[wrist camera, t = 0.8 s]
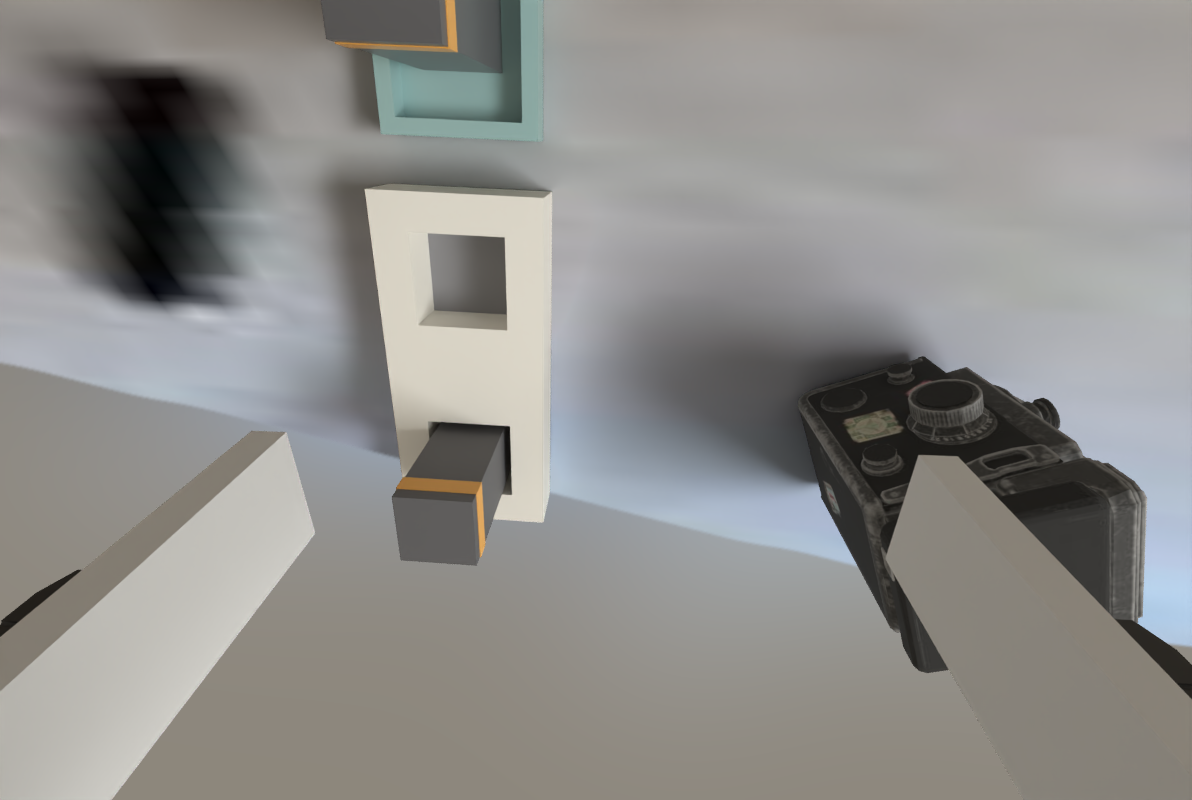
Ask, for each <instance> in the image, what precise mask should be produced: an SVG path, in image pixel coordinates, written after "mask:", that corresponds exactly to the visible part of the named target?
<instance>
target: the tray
mask: <svg viewBox="0 0 1192 800" xmlns="http://www.w3.org/2000/svg"><path fill="white" fill-rule="evenodd" d="M501 34H502V71H503V74H502V73H479V72H457V71H434V70H422V69H419V68H416V67H413V66H410V65H406V64H403V63H400V62H397V61H394V60H391V59H387V58H384V57H381V56H378V55H375V54H372V58H373V67H374V76H375V85H376V94H377V102H378V111H379V120H380V129H381V134H391V135H412V136H433V137H454V138H475V139H495V140H516V141H537V142H539V141H543V0H501Z"/></svg>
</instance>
